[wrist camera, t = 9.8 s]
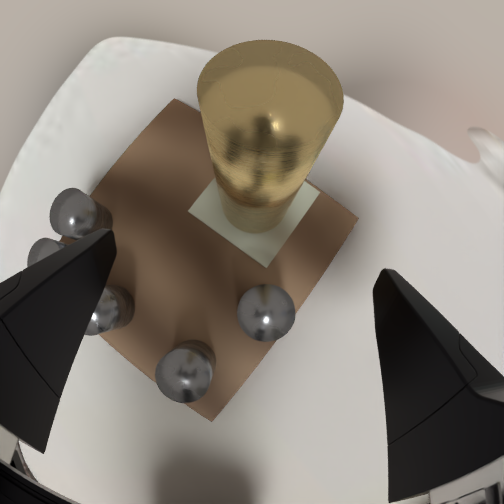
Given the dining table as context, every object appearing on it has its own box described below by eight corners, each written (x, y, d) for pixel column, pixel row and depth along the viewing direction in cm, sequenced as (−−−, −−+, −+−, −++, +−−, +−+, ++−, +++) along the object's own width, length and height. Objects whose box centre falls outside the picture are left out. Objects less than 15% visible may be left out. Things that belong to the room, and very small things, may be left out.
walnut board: (213, 416, 19) (211, 423, 18) (47, 274, 20) (38, 273, 18) (353, 221, 21) (360, 217, 20) (176, 104, 22) (173, 96, 21)
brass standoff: (251, 247, 19) (266, 178, 7) (208, 198, 20) (168, 82, 8) (301, 205, 20) (370, 101, 8) (257, 158, 20) (274, 25, 8)
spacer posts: (213, 408, 18) (207, 433, 14) (49, 267, 19) (17, 261, 15) (293, 303, 19) (306, 306, 15) (115, 171, 20) (92, 148, 16)
